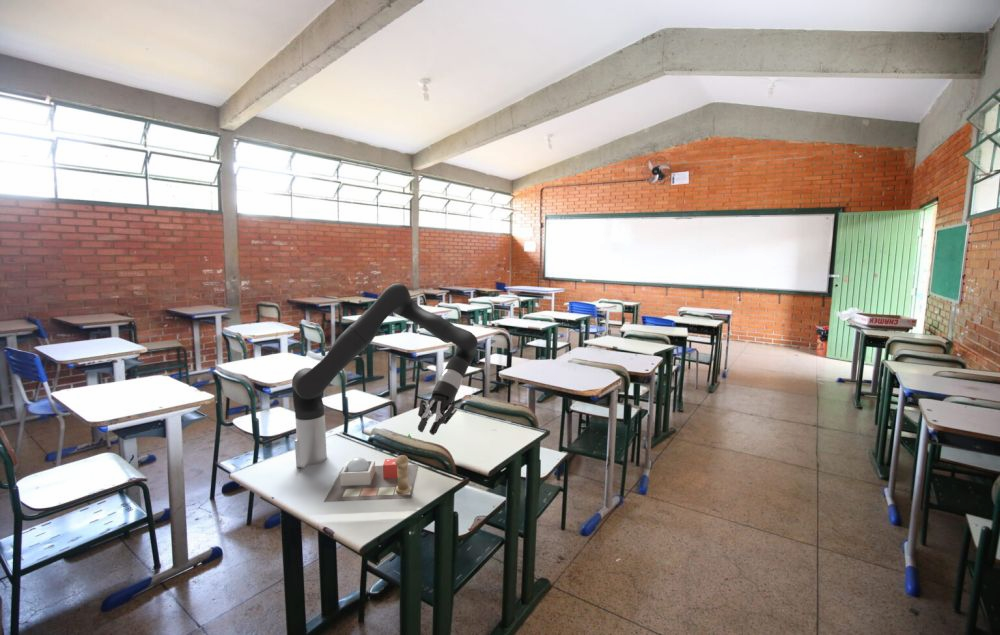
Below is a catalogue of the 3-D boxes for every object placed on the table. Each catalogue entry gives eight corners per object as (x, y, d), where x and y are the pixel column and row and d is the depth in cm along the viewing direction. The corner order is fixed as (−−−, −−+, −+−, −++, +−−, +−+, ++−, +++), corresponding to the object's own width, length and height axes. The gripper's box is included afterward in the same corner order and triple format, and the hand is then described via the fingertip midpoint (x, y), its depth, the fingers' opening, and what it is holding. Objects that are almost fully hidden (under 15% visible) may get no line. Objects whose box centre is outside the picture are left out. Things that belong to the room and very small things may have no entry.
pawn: (395, 494, 138) (393, 458, 137) (397, 487, 142) (395, 452, 141) (409, 493, 139) (408, 458, 137) (410, 486, 143) (409, 452, 141)
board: (323, 506, 135) (323, 501, 134) (343, 471, 156) (342, 466, 156) (411, 502, 137) (411, 497, 136) (418, 468, 158) (418, 464, 158)
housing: (341, 485, 144) (340, 473, 143) (347, 472, 152) (347, 460, 152) (370, 484, 144) (369, 472, 144) (375, 471, 153) (375, 459, 152)
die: (383, 478, 148) (382, 465, 148) (385, 472, 153) (385, 458, 152) (397, 477, 149) (397, 464, 148) (399, 471, 153) (398, 458, 152)
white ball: (345, 482, 145) (344, 463, 144) (350, 472, 151) (349, 454, 150) (366, 481, 145) (366, 462, 144) (370, 472, 152) (370, 453, 151)
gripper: (470, 394, 156) (448, 442, 147) (436, 388, 163) (414, 433, 154) (460, 383, 150) (438, 431, 142) (426, 377, 157) (402, 422, 149)
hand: (425, 432), depth 148 cm, fingers open, 4 cm apart
